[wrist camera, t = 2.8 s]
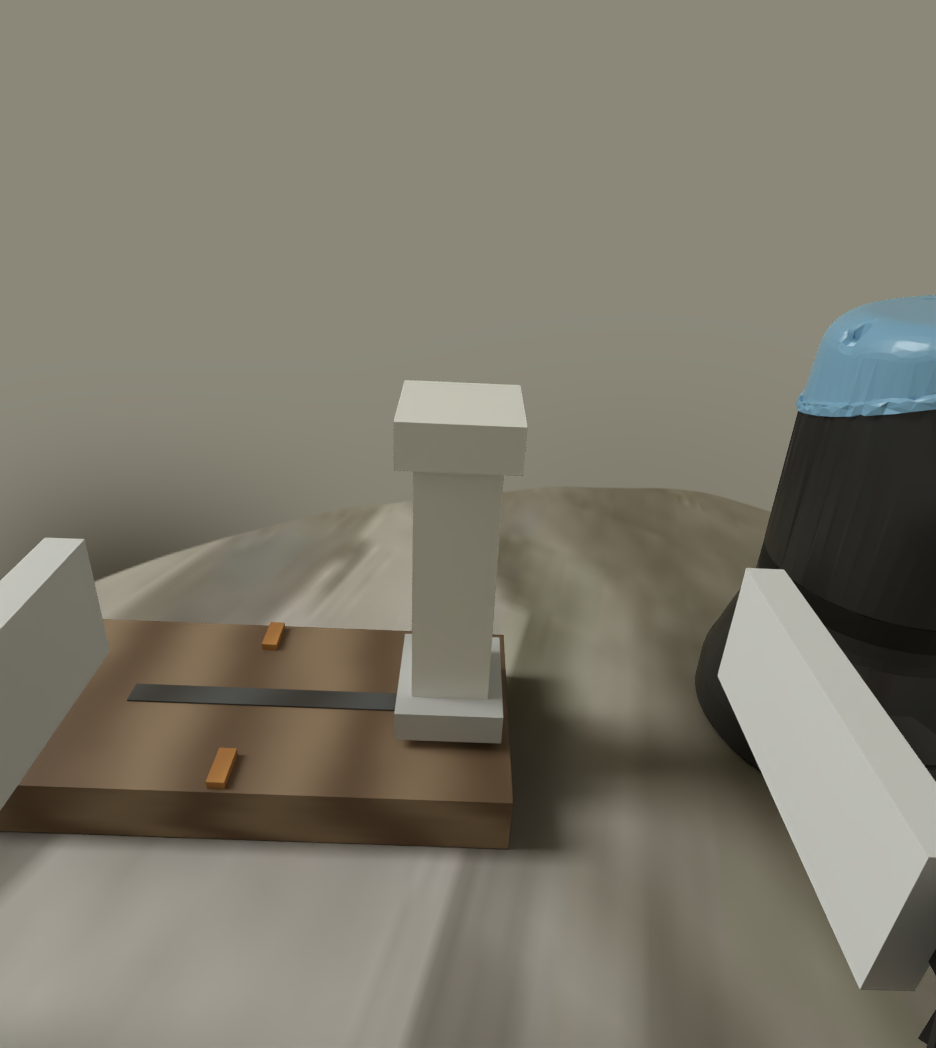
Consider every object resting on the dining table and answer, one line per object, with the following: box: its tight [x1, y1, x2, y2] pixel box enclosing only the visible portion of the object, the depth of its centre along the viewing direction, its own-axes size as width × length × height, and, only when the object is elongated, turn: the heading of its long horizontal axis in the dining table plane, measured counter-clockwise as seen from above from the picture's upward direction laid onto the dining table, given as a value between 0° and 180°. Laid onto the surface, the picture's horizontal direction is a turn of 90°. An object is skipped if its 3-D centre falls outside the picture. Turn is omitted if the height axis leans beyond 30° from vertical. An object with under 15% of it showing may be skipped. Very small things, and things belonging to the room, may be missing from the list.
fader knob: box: [394, 380, 527, 744], centre depth 33 cm, size 5×6×16 cm
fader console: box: [0, 619, 513, 849], centre depth 38 cm, size 26×12×3 cm, turn 90°
